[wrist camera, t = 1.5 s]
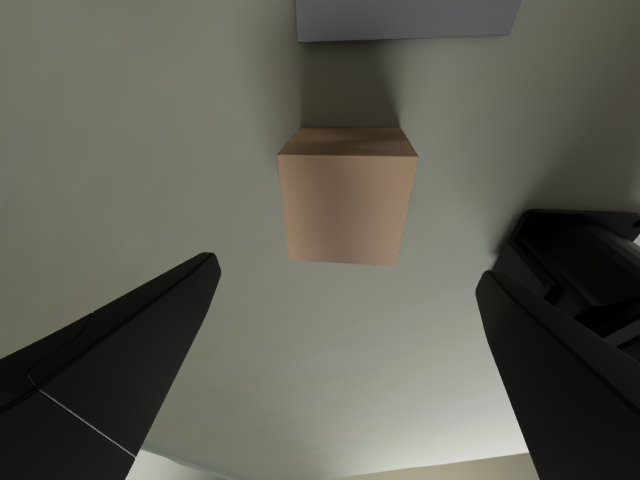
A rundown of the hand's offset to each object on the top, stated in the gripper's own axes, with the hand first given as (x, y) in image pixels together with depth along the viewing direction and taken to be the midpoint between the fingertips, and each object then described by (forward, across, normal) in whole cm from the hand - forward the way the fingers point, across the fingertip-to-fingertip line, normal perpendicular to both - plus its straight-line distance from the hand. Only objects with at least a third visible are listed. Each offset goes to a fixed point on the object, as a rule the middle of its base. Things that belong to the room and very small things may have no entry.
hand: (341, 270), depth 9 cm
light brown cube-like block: (+8, 0, 0) cm, 9 cm away
